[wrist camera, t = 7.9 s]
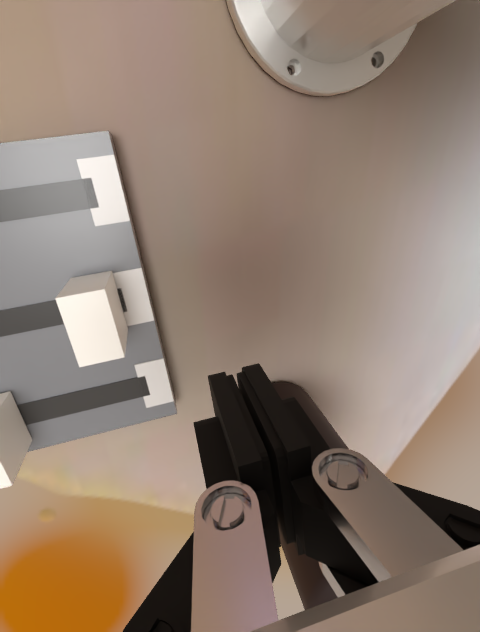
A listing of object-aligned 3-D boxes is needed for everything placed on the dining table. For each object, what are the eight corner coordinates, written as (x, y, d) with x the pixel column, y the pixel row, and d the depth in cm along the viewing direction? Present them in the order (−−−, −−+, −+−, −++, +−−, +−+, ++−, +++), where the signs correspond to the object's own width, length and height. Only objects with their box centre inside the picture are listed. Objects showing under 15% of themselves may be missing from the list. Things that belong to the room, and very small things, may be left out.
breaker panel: (111, 134, 21) (107, 129, 19) (175, 398, 29) (177, 415, 26) (-161, 166, 19) (-199, 165, 17) (-16, 445, 26) (-30, 468, 24)
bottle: (304, 369, 31) (533, 649, 12) (315, 430, 33) (516, 732, 15) (229, 394, 30) (357, 736, 12) (246, 455, 32) (372, 808, 14)
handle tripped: (111, 270, 22) (104, 289, 18) (128, 329, 23) (124, 357, 20) (70, 277, 21) (55, 298, 18) (89, 337, 23) (79, 367, 19)
